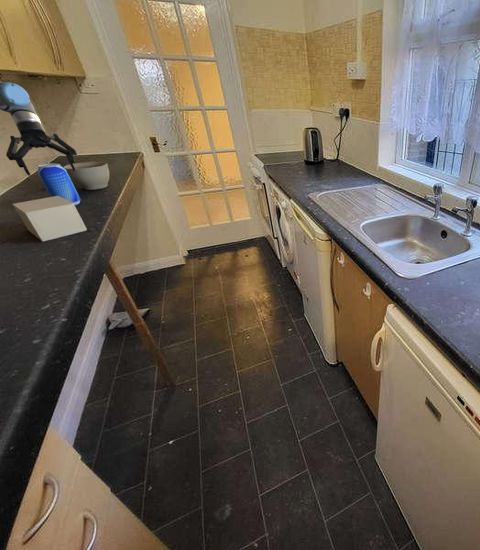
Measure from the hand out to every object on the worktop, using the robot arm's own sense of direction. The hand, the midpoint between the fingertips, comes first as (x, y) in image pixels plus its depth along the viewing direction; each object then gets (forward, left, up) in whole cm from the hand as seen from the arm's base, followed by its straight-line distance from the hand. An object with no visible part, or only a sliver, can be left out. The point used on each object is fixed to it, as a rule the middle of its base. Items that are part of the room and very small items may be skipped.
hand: (51, 171), depth 119 cm
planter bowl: (-20, +17, -14) cm, 30 cm away
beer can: (+2, 0, -14) cm, 14 cm away
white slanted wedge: (+34, -12, -13) cm, 38 cm away
